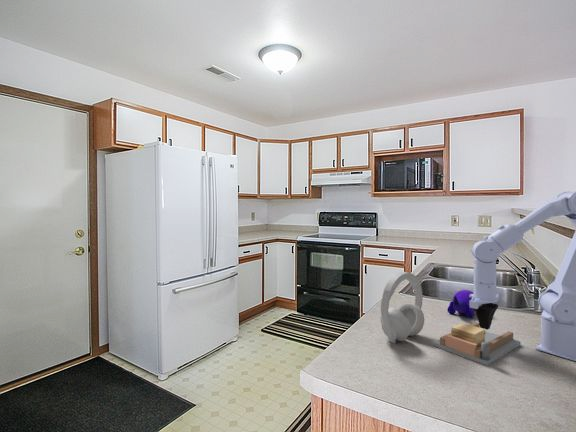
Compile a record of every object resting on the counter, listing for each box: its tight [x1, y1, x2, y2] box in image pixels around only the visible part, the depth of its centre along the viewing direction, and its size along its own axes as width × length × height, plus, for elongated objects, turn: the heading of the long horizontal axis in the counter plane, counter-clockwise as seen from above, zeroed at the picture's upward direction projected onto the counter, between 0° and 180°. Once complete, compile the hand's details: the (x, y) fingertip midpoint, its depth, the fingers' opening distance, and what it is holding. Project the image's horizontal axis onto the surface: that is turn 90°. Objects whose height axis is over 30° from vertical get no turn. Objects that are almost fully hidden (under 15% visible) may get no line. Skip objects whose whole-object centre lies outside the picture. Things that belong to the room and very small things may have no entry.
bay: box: [433, 321, 521, 367], centre depth 91 cm, size 14×21×5 cm, turn 125°
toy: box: [447, 289, 476, 319], centre depth 118 cm, size 9×10×15 cm
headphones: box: [379, 271, 425, 344], centre depth 96 cm, size 19×8×20 cm, turn 127°
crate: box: [450, 322, 486, 348], centre depth 88 cm, size 6×6×5 cm
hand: (484, 328), depth 93 cm, fingers closed
